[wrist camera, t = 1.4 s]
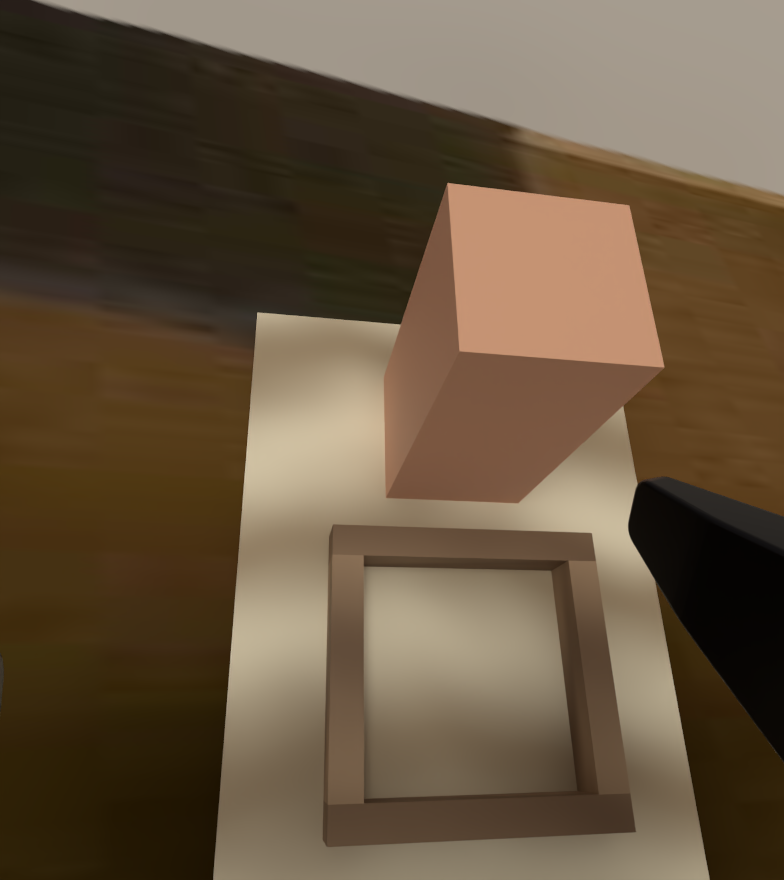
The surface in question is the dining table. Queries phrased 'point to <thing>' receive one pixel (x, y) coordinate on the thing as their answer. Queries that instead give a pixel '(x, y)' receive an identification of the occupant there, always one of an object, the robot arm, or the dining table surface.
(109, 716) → the dining table surface
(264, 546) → the board
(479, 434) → the pillar
